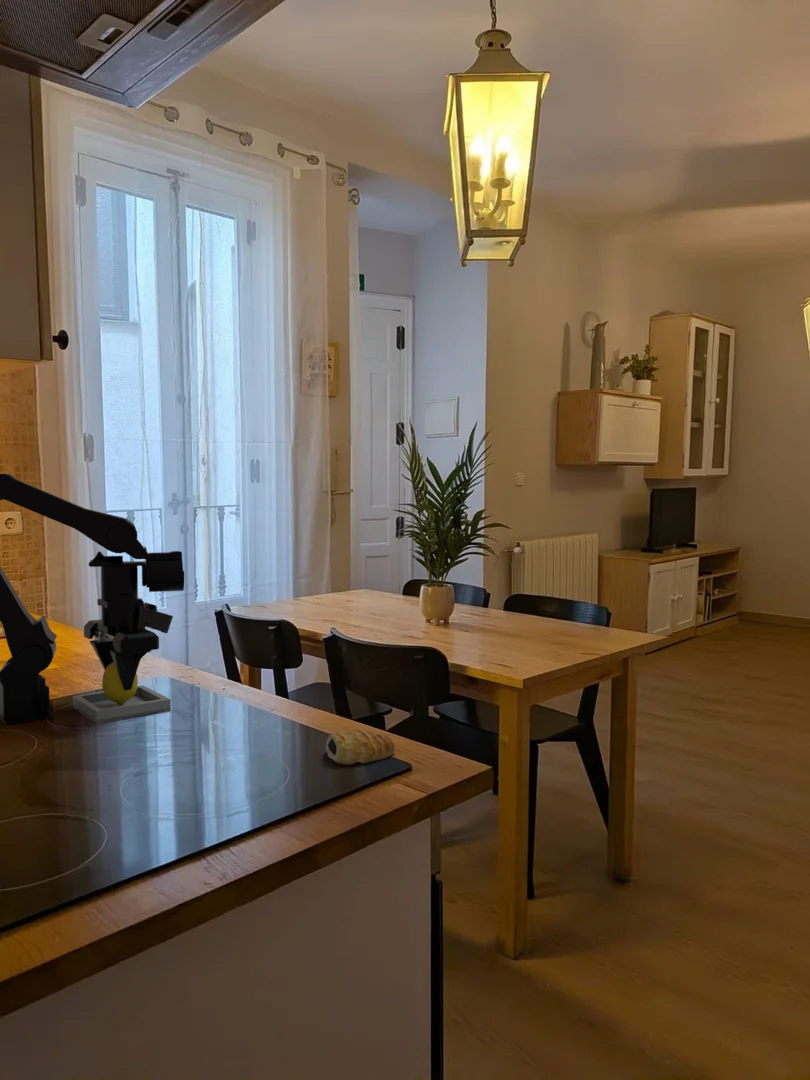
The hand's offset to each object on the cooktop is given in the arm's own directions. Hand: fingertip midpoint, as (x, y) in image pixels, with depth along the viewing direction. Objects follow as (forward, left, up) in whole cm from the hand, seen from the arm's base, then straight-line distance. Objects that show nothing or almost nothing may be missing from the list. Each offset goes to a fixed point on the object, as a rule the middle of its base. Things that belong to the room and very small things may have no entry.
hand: (120, 685), depth 130 cm
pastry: (+17, -43, -4) cm, 47 cm away
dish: (0, 0, -4) cm, 4 cm away
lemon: (0, 0, -4) cm, 4 cm away
